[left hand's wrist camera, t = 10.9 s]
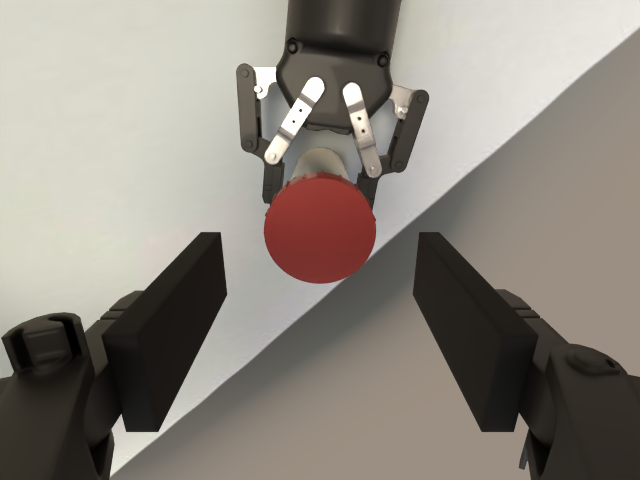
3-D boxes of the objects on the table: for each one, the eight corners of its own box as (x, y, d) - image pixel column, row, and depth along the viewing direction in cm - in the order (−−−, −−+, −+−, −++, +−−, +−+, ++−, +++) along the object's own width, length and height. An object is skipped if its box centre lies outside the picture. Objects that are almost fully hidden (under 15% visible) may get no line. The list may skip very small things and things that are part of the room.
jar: (297, 197, 35) (276, 274, 18) (294, 148, 33) (269, 186, 17) (344, 195, 35) (366, 271, 18) (344, 146, 33) (367, 182, 17)
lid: (271, 273, 20) (267, 286, 18) (262, 172, 18) (256, 178, 16) (371, 269, 20) (375, 283, 18) (373, 168, 18) (378, 174, 16)
